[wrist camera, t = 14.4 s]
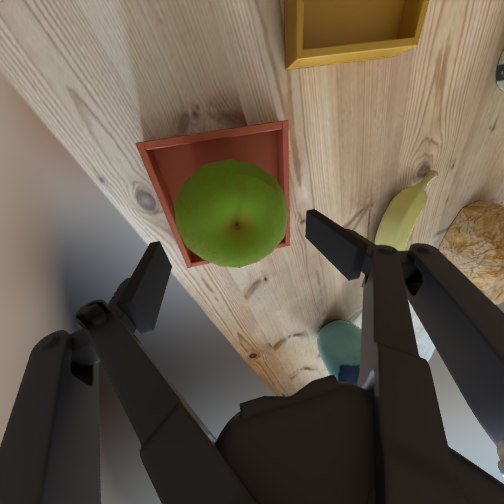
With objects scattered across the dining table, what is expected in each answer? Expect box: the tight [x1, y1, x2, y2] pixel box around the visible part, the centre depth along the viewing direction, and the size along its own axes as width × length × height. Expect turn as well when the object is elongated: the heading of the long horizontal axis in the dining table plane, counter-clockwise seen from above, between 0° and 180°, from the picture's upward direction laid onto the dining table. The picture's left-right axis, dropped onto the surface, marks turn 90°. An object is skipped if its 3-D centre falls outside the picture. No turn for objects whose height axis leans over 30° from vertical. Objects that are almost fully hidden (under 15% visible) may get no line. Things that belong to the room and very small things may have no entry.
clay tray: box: [136, 120, 290, 268], centre depth 26 cm, size 18×18×3 cm
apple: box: [174, 159, 288, 268], centre depth 22 cm, size 12×12×11 cm
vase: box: [317, 320, 361, 385], centre depth 41 cm, size 14×14×31 cm
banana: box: [374, 170, 438, 251], centre depth 36 cm, size 14×6×20 cm
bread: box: [439, 200, 504, 305], centre depth 44 cm, size 36×11×10 cm, turn 23°
